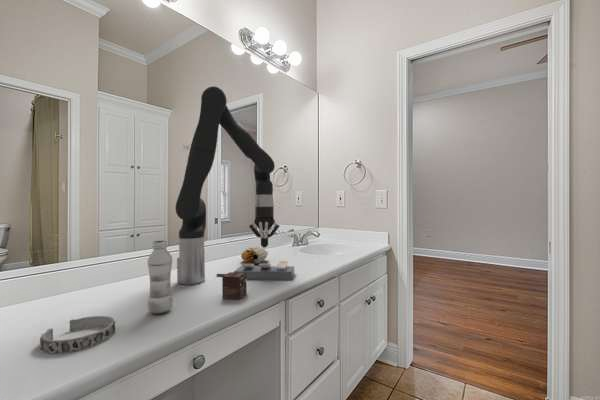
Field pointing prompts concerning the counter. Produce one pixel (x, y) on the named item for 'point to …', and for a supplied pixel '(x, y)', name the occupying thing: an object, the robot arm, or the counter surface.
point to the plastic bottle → (160, 278)
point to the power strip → (266, 273)
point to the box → (234, 285)
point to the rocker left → (248, 265)
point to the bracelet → (82, 342)
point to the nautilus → (254, 255)
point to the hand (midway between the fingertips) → (264, 247)
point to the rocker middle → (264, 265)
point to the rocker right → (281, 265)
